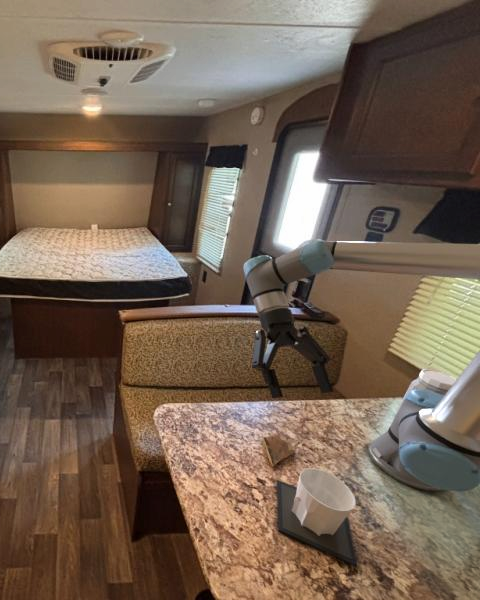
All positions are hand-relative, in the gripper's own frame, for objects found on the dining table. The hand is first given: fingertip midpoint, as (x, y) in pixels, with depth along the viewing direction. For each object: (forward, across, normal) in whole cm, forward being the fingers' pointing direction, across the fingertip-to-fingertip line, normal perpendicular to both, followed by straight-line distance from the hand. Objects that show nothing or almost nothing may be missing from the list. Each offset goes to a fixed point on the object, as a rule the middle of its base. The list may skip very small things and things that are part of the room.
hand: (302, 395), depth 75 cm
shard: (+15, -5, -21) cm, 26 cm away
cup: (+27, +1, -9) cm, 28 cm away
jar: (+12, -59, -25) cm, 65 cm away
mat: (+27, +1, -9) cm, 28 cm away
